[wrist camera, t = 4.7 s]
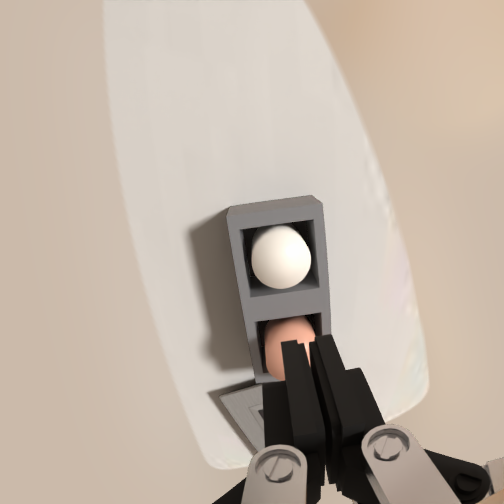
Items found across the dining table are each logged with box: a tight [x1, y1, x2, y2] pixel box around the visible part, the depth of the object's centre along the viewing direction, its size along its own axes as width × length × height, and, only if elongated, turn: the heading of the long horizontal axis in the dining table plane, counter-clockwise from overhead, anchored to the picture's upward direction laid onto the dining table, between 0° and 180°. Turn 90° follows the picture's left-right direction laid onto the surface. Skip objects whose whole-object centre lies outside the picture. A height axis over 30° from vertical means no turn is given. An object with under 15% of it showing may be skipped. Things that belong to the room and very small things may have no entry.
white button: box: [252, 223, 311, 289], centre depth 24 cm, size 4×4×4 cm
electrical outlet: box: [219, 381, 277, 452], centre depth 31 cm, size 13×10×2 cm
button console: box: [226, 195, 331, 383], centre depth 25 cm, size 14×6×4 cm, turn 8°
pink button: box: [264, 315, 316, 381], centre depth 24 cm, size 4×4×4 cm
